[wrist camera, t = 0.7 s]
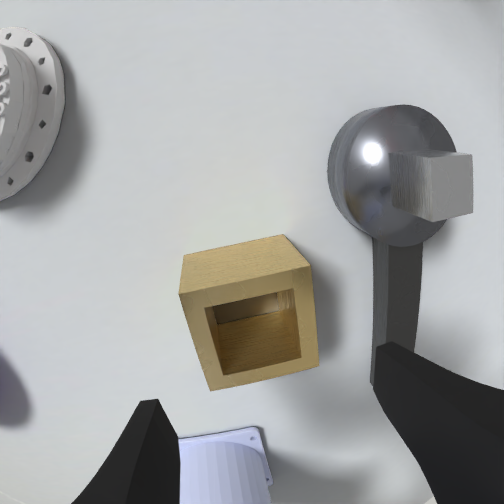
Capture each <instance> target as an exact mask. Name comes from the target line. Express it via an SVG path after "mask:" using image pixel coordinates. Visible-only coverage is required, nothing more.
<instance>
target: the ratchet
mask: <svg viewBox="0 0 504 504" xmlns="http://www.w3.org/2000/svg"><path fill="white" fill-rule="evenodd" d="M327 172H328V183H329V188H330V192H331V195H332V198H333V200H334V202H335V205H336V206H337V208H338V209H339V211H340V212H341V214H342V215H343V216H344V217H345V218H346V219H347V220H348V221H349V222H350V223H351V224H352V225H354V226H355V227H357V228H359V229H360V230H362V231H364V232H365V233H367V234H369V235H371V236H372V242H373V338H372V358H371V373H370V383H371V384H372V386H373V384H374V371H375V357H376V347H377V346H380V345H382V344H385V343H388V342H391V341H392V342H395V343H397V344H398V345H400V346H402V347H404V348H406V349H408V350H410V351H412V352H414V347H415V340H416V332H417V323H418V314H419V303H420V291H421V275H422V251H423V241H425V240H427V239H428V238H430V237H431V236H433V235H434V234H435V233H436V232H437V231H438V230H439V229H440V228H441V227H442V226H443V224H444V223H445V221H446V220H447V219H449V218H453V217H457V216H462V215H466V214H470V213H473V164H472V154H464V153H457V152H456V149H455V146H454V143H453V141H452V138H451V137H450V135H449V133H448V131H447V130H446V128H445V127H444V126H443V124H442V123H441V122H440V121H439V120H438V119H437V118H436V117H434V116H433V115H432V114H431V113H429V112H427V111H426V110H424V109H421V108H419V107H416V106H412V105H395V106H387V107H380V108H374V109H369V110H365V111H363V112H361V113H358V114H357V115H355V116H354V117H352V118H351V119H350V120H348V121H347V122H346V123H345V124H344V126H343V127H342V128H341V129H340V131H339V132H338V134H337V135H336V137H335V139H334V142H333V144H332V147H331V150H330V153H329V159H328V170H327Z"/></svg>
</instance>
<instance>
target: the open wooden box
mask: <svg viewBox="0 0 504 504" xmlns="http://www.w3.org/2000/svg"><path fill="white" fill-rule="evenodd" d="M274 292H277V298H278V304H279V311H277V312H272V313H268V314H264V315H259V316H255V317H250V318H246V319H241V320H237V321H232V322H227V323H223V324H218V325H217V322H216V318H215V314H214V310H213V307H212V306H215V305H220V304H225V303H229V302H234V301H239V300H243V299H248V298H252V297H257V296H261V295H266V294H270V293H274ZM179 297H180V300H181V304H182V307H183V311H184V314H185V317H186V320H187V324H188V327H189V330H190V333H191V336H192V339H193V342H194V345H195V349H196V352H197V355H198V358H199V361H200V364H201V366H202V369H203V372H204V375H205V378H206V381H207V384H208V387H209V389H210V391H215V390H220V389H225V388H230V387H235V386H240V385H245V384H249V383H254V382H258V381H263V380H267V379H271V378H275V377H280V376H284V375H287V374H291V373H295V372H299V371H303V370H306V369H310V368H314V367H317V366H319V355H318V341H317V328H316V316H315V304H314V293H313V283H312V273H311V265H310V264H309V263H308V262H307V261H306V259H305V258H304V257H303V256H302V255H301V254H300V253H299V252H298V250H297V249H296V248H295V247H294V246H293V245H292V244H291V243H290V241H289V240H288V239H287V238H286V237H285V236H284V235H283V234H282V235H278V236H273V237H268V238H263V239H258V240H254V241H249V242H244V243H239V244H234V245H230V246H225V247H220V248H216V249H211V250H206V251H201V252H197V253H192V254H187V255H184V258H183V265H182V272H181V279H180V287H179Z"/></svg>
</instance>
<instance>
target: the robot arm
mask: <svg viewBox="0 0 504 504" xmlns="http://www.w3.org/2000/svg"><path fill="white" fill-rule="evenodd" d="M373 390H374V392H375V395H376V397H377V399H378V401H379V403H380V405H381V407H382V409H383V411H384V413H385V414H386V416H387V417H388V419H389V420H390V422H391V423H392V425H393V426H394V427H395V429H396V430H397V432H398V433H399V435H400V436H401V438H402V439H403V441H404V442H405V444H406V445H407V447H408V448H409V449H410V451H411V452H412V454H413V455H414V457H415V459H416V460H417V462H418V464H419V465H420V467H421V469H422V471H423V473H424V475H425V477H426V479H427V481H428V484H429V486H430V488H431V490H432V493H433V495H434V497H435V499H436V502H437V504H504V390H501V389H497V388H494V387H491V386H487V385H484V384H481V383H478V382H475V381H473V380H470V379H468V378H465V377H463V376H460V375H458V374H456V373H453V372H451V371H449V370H447V369H445V368H443V367H441V366H439V365H437V364H435V363H433V362H431V361H429V360H427V359H425V358H423V357H421V356H419V355H417V354H415V353H414V352H412V351H410V350H408V349H406V348H404V347H402V346H400V345H398V344H397V343H395V342H392V341H391V342H388V343H385V344H382V345H380V346H377V347H376V357H375V371H374V384H373ZM253 436H254V437H253ZM272 484H273V479H272V476H271V472H270V469H269V465H268V462H267V458H266V455H265V451H264V448H263V444H262V440H261V437H260V433H259V430H258V428H256V427H250V428H245V429H240V430H235V431H229V432H224V433H218V434H212V435H205V436H199V437H192V438H184V439H178V436H177V434H176V432H175V430H174V429H173V427H172V425H171V423H170V421H169V419H168V417H167V415H166V414H165V412H164V410H163V408H162V406H161V404H160V402H159V400H158V399H153V400H145V401H140V403H139V404H138V406H137V408H136V409H135V411H134V413H133V415H132V416H131V418H130V420H129V422H128V424H127V425H126V427H125V429H124V431H123V432H122V434H121V436H120V437H119V439H118V441H117V442H116V444H115V446H114V447H113V449H112V451H111V452H110V454H109V456H108V457H107V459H106V460H105V461H104V463H103V464H102V466H101V467H100V469H99V470H98V472H97V473H96V475H95V476H94V477H93V479H92V480H91V481H90V483H89V484H88V485H87V486H86V488H85V489H84V490H83V491H82V493H81V494H80V495H79V496H78V497H77V498H76V499H75V500H74V501H73V502H72V503H71V504H272V502H271V498H270V494H269V490H268V486H271V485H272Z"/></svg>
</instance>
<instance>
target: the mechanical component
mask: <svg viewBox="0 0 504 504" xmlns="http://www.w3.org/2000/svg"><path fill="white" fill-rule="evenodd" d="M64 105H65V93H64V74H63V70H62V66H61V63H60V60H59V58H58V56H57V55H56V53H55V51H54V50H53V48H52V46H51V45H50V44H49V43H48V42H46V41H45V40H43V39H42V38H41V37H39V36H38V35H36V34H35V33H33V32H31V31H29V30H27V29H26V28H20V27H7V28H1V29H0V201H1V200H3V199H6V198H8V197H11V196H13V195H15V194H16V193H17V192H19V191H20V190H21V189H22V188H23V187H25V186H26V185H27V184H28V183H30V182H31V180H32V179H33V178H34V177H35V175H36V174H37V173H38V172H39V171H40V169H41V168H42V166H43V164H44V163H45V161H46V159H47V158H48V156H49V154H50V153H51V150H52V148H53V145H54V142H55V140H56V137H57V135H58V132H59V128H60V123H61V119H62V114H63V110H64Z"/></svg>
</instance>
